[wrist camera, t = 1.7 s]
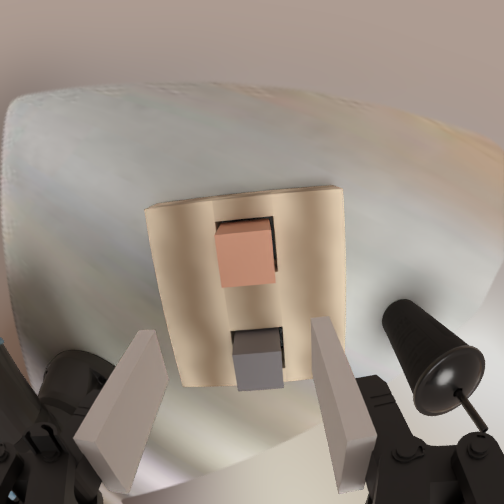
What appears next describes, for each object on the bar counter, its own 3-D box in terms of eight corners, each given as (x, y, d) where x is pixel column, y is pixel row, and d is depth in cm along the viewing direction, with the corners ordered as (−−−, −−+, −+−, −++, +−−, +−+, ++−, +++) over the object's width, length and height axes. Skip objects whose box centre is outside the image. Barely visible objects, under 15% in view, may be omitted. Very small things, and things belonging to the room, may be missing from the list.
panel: (189, 367, 38) (183, 386, 34) (156, 203, 32) (144, 209, 29) (336, 355, 37) (343, 374, 33) (332, 185, 32) (342, 188, 28)
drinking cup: (361, 309, 35) (436, 435, 16) (416, 276, 34) (523, 372, 15) (382, 354, 37) (447, 475, 18) (432, 323, 36) (520, 424, 17)
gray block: (240, 362, 34) (238, 391, 29) (235, 328, 33) (232, 354, 28) (280, 359, 34) (283, 387, 29) (278, 324, 33) (281, 351, 28)
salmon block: (227, 268, 31) (221, 287, 26) (221, 223, 30) (214, 235, 25) (272, 263, 31) (275, 283, 26) (268, 218, 30) (270, 229, 25)
